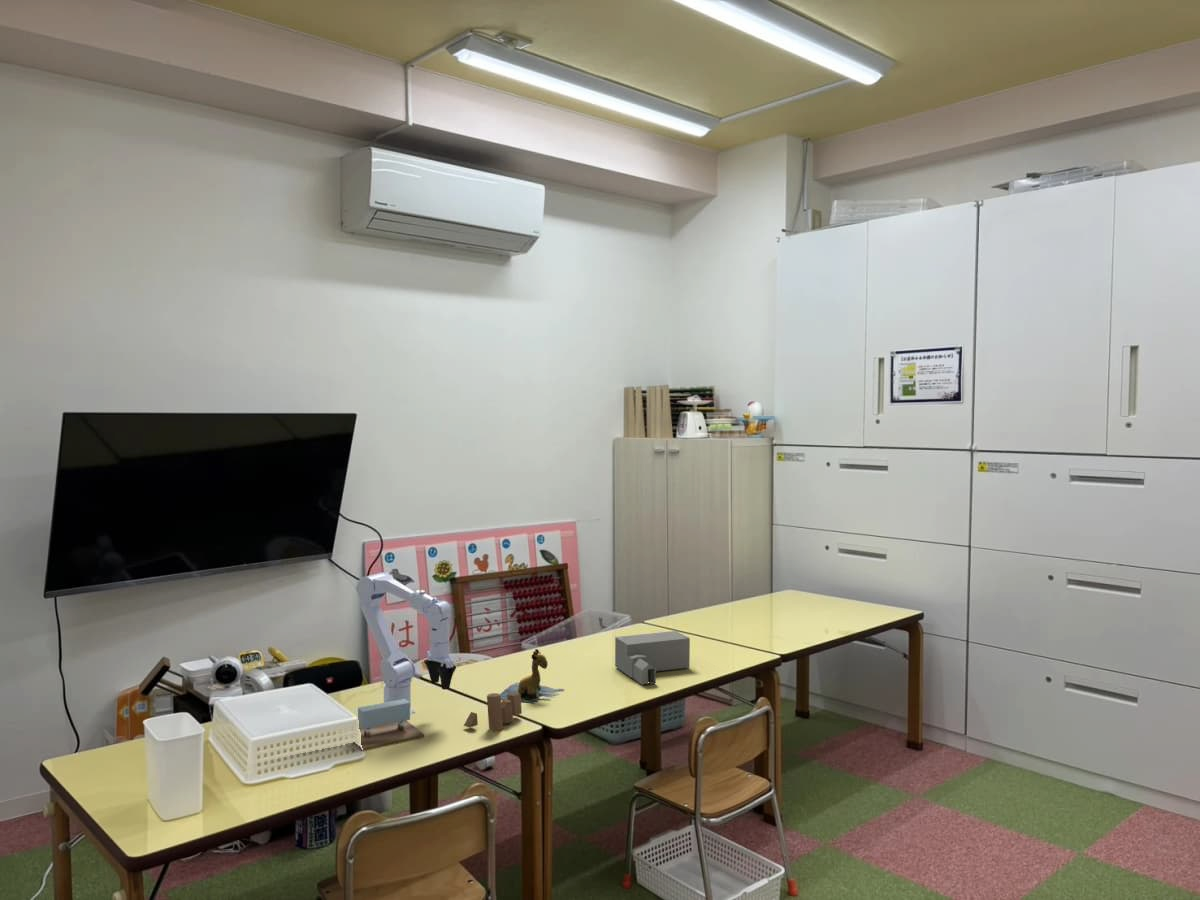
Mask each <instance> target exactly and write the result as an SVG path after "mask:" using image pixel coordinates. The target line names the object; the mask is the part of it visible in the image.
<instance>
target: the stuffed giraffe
mask: <svg viewBox="0 0 1200 900" xmlns="http://www.w3.org/2000/svg"><path fill="white" fill-rule="evenodd" d="M531 659H532V662H531V672H532V673H531V674H529V675H528V676H525V677H523V678H521V680H520V681H519V682H515V683H513V684H511V685H509V686H508V687H507V688H505V689H504V690H503V691H502V692H501V693H499V694H500V695H501V700H507V695H508V694H511V693H514V692H515V693H519V694H521V703H522V702H525V703H528V704H529V703H530V704H533V705H534V704H536V703H537V702H538V701H545V702H547V701H548V702H549V701H550V702H551V701H552V698H556V696H559V695H560V692H561V693H562V692H564V691H565V689H564V688H553V687H549V686H545V685H541V674H540V673H541V672H540V670H539V667H540V668H542V669H544V670H545V669H547V668H548V665H549V664H548V659H547V657H546V656H545V655H544V654H543V653H542V652H541V651H540V650H539V648H535V649H534V650H533V653H532V654H531ZM540 697H543V698H540ZM544 697H545V698H544Z"/></svg>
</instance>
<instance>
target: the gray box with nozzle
mask: <svg viewBox="0 0 1200 900" xmlns="http://www.w3.org/2000/svg"><path fill="white" fill-rule="evenodd" d="M614 638H615V639H614V640H615V643H614V646H615V647H614V649H615V650H614V651H615V652H614V653H615V656H614V657H615V658H614V660H615V661H614V662H615V663H614V665H615V666H614V667H615V668H617V669H618V670H619V671H621V672H623V673H624V674H625V675H627V677H630V678H631V679H633V680H634V681H636V682H637V683H639V684H640V685H642V686H645V685H644V684H646V685H652V684H656V681H657V677H656V676H657V672H663V671H664V672H665V671H671V670H672V671H673V670H680V669H687V668H690V655H691V654H690V652H691V651H690V648H691V647H690V645H691V644H690V643H691V638H690V637H688V636H686V635H684V634H683V633H681V632H679V631H677V630H671V631H662V632H661V631H660V632H653V633H645V634H644V633H642V634H641V633H640V634H634V635H633V634H632V635H623V636H615V637H614ZM648 682H649V683H648Z"/></svg>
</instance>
